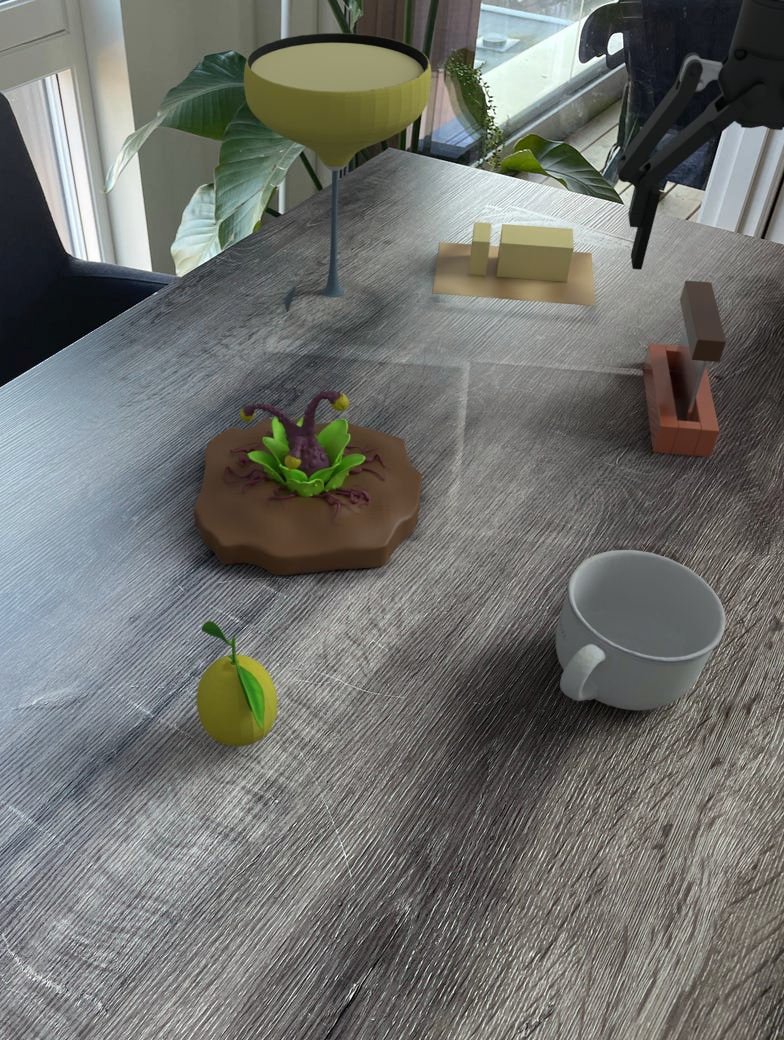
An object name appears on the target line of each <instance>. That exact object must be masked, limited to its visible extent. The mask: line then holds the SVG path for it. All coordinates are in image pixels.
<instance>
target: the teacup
mask: <svg viewBox="0 0 784 1040" xmlns="http://www.w3.org/2000/svg"><path fill="white" fill-rule="evenodd" d="M726 619H727V618H726V612H725V608H724V606H723V604H722V601H721V599H720V598H719V596H718V595H717V594H716V592H715V591H714V589H713V588H712V587H711V586H710V585H709V584H708V583H707V582H706V580H704V579H703V578H702V577H701V576H699V575H698V574H697V573H696V572H695V571H694V570H692V569H691V568H689V567H688V566H687V565H683V564H681V563H679V562H678V561H675V560H673V559H671V558H670V557H667V556H663V555H660V554H657V553H654V552H649V551H643V550H635V549H619V550H618V549H616V550H609V551H603V552H600V553H597V554H594V555H592V556H590V557H588V558H586V559H585V560H583V561H581V562H580V563H579V564H578V566H576V567H575V569H574V570H573V572H572V574H571V575H570V577H569V579H568V583H567V590H566V595H565V598H564V601H563V604H562V607H561V611H560V614H559V619H558V620H557V621H558V622H557V626H556V632H555V651H556V656H557V658H558V662H559V664H560V667H561V668H562V670H563V673H562V675H561V678H560V680H559V681H560V682H559V688H560V691H562V693H563V694H564V695H565V696H567V697H568V698H570V699H572V700H573V701H576V702H582V701H583V702H584V701H592V700H596V701H597V702H601V703H602V704H604V705H607V706H610V707H614V708H617V709H621V710H629V711H649V710H654V709H659V708H662V707H665V706H667V705H669V704H672V703H674V702H675V701H677V700H678V699H680V698H681V697H682V696H683V695H685V694H686V693H687V692H688V691H689V690H690V688H691V687H692V686H693V685H694V683H695V682H696V680H697V679H698V677H699V675H700V674H701V672H702V671H703V669H704V667H705V666H706V665H707V662H708V660H709V658H710V657H711V654H712V653H713V651H714V649H715V648H716V647H717V645H719V643H720V641H721V640H722V638H723V636H724V633H725V630H726V621H727V620H726Z"/></svg>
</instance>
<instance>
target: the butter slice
mask: <svg viewBox="0 0 784 1040" xmlns="http://www.w3.org/2000/svg"><path fill="white" fill-rule="evenodd" d="M492 226H493V225H492V223H491V222H478V221H474V222H473V229H472V236H471V237H472V238H471V244H472V245H471V253H470V263H469V273H468V274H469V275H481V276H486V271H487V263H488V256H489V248H490V246H491V240H492V239H491V238H492Z"/></svg>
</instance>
